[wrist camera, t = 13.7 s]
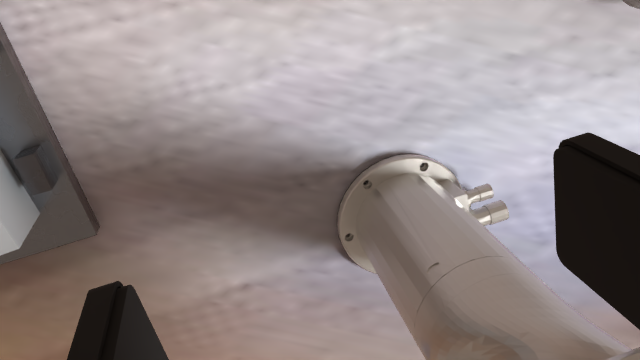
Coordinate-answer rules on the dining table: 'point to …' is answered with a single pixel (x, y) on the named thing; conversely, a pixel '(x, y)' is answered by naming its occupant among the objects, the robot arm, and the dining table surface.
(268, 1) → the dining table surface
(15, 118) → the cradle
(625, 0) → the coffee pot
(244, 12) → the dining table surface
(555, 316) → the robot arm
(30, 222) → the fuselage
